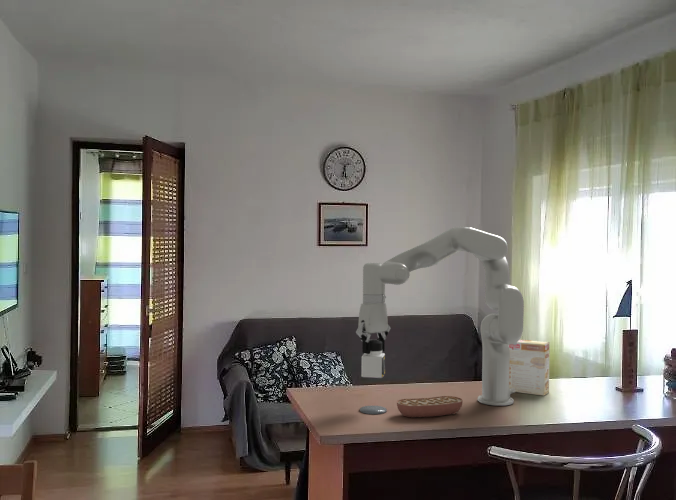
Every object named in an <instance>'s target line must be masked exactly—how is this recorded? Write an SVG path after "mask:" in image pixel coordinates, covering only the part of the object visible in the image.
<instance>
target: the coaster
mask: <svg viewBox="0 0 676 500" xmlns="http://www.w3.org/2000/svg"><path fill="white" fill-rule="evenodd" d="M359 412H361V413H363V414H366V415H382V414H386V413H387V407H385V406H381V405H364V406H362V407H360V408H359Z"/></svg>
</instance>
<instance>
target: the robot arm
mask: <svg viewBox="0 0 676 500" xmlns="http://www.w3.org/2000/svg"><path fill="white" fill-rule="evenodd" d="M507 243H508V242H507V241H506V240H505V239H504V238H503V237H501V236H499V235H496V234H493V233H489V232H486V231H484V230H480V229H476V228H473V227H470V226H454V227H452V228H450V229H447V230H446V231H444V232H443V233H440V234H438V235H437V236H435V237H434V238H431V239H429V240H428V241H426V242H424V243H421V244H419V245H417V246H415V247H413V248H411V249H408V250H405V251H404V252H401V253H399V254H397V255H395V256H393V257H392V258H389V259H388V260H386V261H384V262H383V263H381V262H368V263H364V265H363V266H362V303H361V304H360V308H359V312H358V313H359V314H358V327H357V329H356V331H355V333H356V335H357V336H358V338H359V339H360V341H361V342H362V343H361V344H362V348H361V349H362V354H364V353H365V354H370V342H369V340H371V339H370V338H371V336H372V334H377V335H376V336H377V338H376V340H380V341H382V353H384V352H385V341H386V339H387V337H388V334H389V332H390V331H391V329H392V328H391V326H390V325H389V324H388V323H389V322H388V321H389V320H388V308H387V304H386V298H387V296H386V284H387V285H388V284H389V285H396V286H399V285H404V284H405V283H406V282H407V281H408V280H409V278H410V275H411V274H410V272H413V271H417V270H419V269H420V270H421V269H425V268H429V267H433V266H435V265H436V266H437V265H438V264H439V263H441V262H443V261H445V260H447V259H448V258H450V257H452V256H454V255H456V254H458V253H460V252H467V253H469V254H472V255H473V256H474V257H475V258H476V259H478V260H479V261H480V262H481V264H482V266H483V269H484V276H485V280H484V284H485V286H484V303H485V305H486V306H487V308H489V309H491V310H493V311H497V313H490V314H488V315H485V316H484V317H483V319H482V320H481V322H480V328H479V329H480V335H481V336H480V337H481V343H482V344H481V345H482V358H481V359H482V360H481V362H482V367H481V368H482V369H481V372H482V373H481V374H482V375H481V379H482V380H481V381H482V382H481V384H482V385H481V386H482V387H481V395H478V396H477V401H478V402H479V403H481V404H483V405H488V406H496V407H497V406H498V407H500V406H501V407H502V406H510V405H513V404H514V398H513V397H511V395H512V394H515V393H516V392H515V389H514V388H509V363H510V351H509V345H511V344H515V343H517V342H518V341H519V340H521V338H522V336H523V331H524V319H525V316H524V314H525V313H524V312H525V311H524V310H525V309H524V308H525V301H524V296H523V293H522V292H521V291H520V290H519V289H518V287H516V286H513V285H511V282H510V281H511V280H510V267H509V266H510V265H509V263H508V260H507V258H506V256H507V254H508V251H509V248H508V247H509V246H508V244H507Z"/></svg>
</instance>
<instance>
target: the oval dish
mask: <svg viewBox="0 0 676 500" xmlns="http://www.w3.org/2000/svg"><path fill="white" fill-rule="evenodd" d="M463 404H464V403H463V399H462V398H461V397H458V396H453V395H441V396H435V397H434V396H433V397H431V396H430V397H419V398H418V397H417V398H401V399H398V400H397V401H396V406H397V409H398V411H399V413H400V414H401V415H402V416H403V417H407V418H410V417H411V418H433V417H440V416H448V415H449V416H450V415H454V414H456V413H458V412H459V411H460V410H461V408H462V407H463Z"/></svg>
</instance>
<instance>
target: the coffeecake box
mask: <svg viewBox="0 0 676 500" xmlns="http://www.w3.org/2000/svg"><path fill="white" fill-rule="evenodd" d="M509 351H510V363H509V388H514V389H515V393H519V394H520V393H522V394H528V395H537V396H544V397H545V396H547V394H549V393H550V341H542V340H540V341H539V340H529V339H528V340H527V339H520V340H519V341H518V342H517V343H515V344H511V345H509Z"/></svg>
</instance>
